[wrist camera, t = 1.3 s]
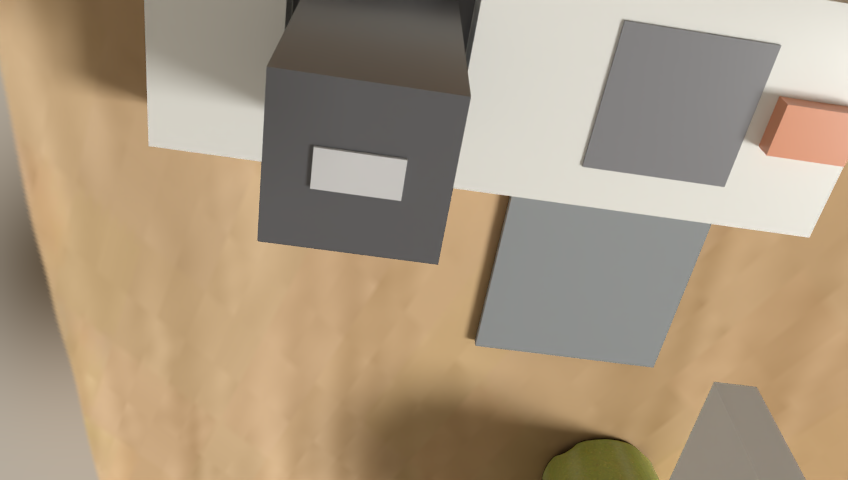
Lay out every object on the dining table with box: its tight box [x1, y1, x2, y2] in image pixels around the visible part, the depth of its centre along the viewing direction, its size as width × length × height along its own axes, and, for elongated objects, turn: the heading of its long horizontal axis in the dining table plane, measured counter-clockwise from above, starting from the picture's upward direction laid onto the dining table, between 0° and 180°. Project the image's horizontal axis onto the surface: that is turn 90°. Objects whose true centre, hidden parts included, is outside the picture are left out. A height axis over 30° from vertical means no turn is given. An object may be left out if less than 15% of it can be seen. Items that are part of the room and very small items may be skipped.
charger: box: [258, 0, 471, 265], centre depth 25 cm, size 5×5×10 cm
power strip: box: [144, 0, 848, 237], centre depth 29 cm, size 9×32×4 cm, turn 81°
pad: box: [475, 196, 711, 367], centre depth 37 cm, size 9×9×1 cm
